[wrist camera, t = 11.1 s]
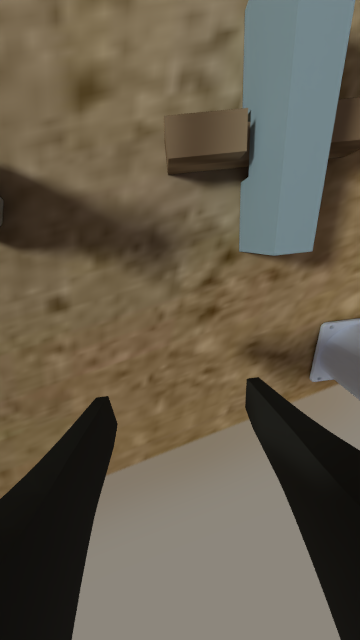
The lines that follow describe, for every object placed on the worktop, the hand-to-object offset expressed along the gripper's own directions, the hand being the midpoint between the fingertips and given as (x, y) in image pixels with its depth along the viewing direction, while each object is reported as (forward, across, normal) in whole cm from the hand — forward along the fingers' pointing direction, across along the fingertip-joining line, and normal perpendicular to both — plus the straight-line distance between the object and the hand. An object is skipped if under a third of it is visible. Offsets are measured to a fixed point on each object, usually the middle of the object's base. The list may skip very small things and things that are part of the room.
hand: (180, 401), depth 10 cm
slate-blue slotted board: (+10, -8, -13) cm, 19 cm away
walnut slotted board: (+10, -8, -14) cm, 19 cm away
